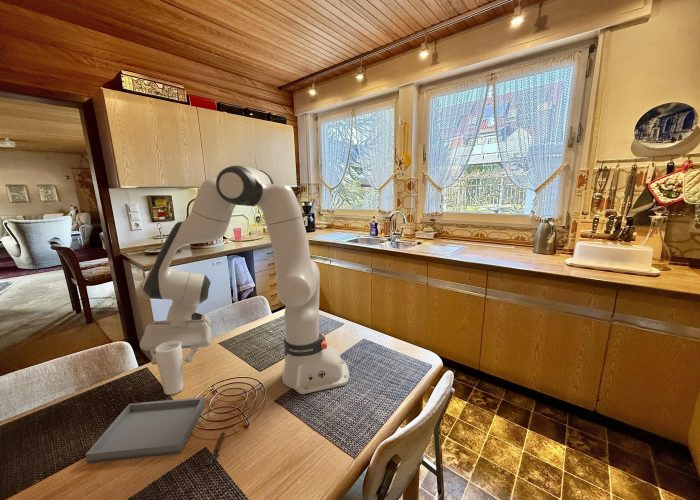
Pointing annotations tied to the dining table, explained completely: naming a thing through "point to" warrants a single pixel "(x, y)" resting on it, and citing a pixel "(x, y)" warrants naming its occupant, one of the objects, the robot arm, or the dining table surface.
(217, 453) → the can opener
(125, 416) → the tray
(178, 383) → the drinking glass
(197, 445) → the dining table surface
